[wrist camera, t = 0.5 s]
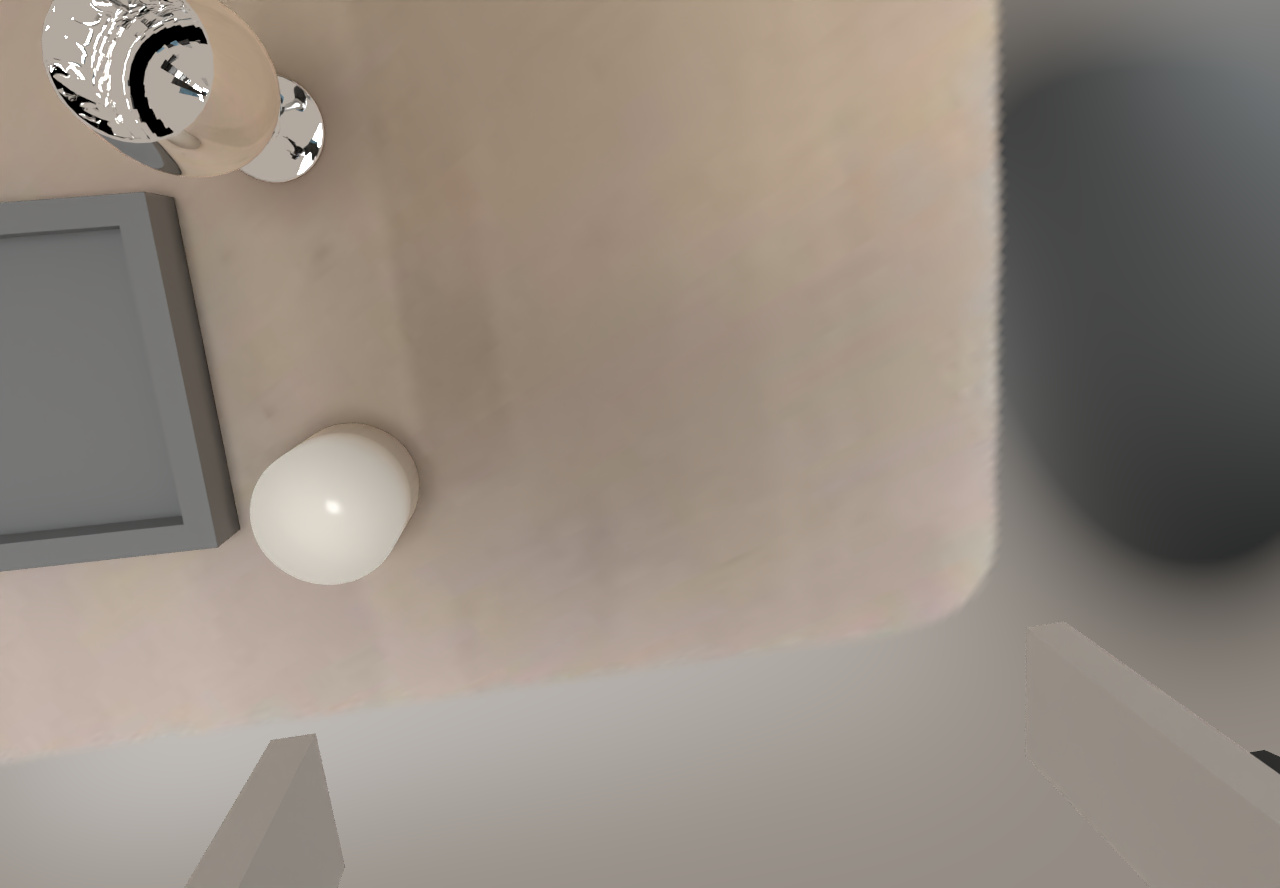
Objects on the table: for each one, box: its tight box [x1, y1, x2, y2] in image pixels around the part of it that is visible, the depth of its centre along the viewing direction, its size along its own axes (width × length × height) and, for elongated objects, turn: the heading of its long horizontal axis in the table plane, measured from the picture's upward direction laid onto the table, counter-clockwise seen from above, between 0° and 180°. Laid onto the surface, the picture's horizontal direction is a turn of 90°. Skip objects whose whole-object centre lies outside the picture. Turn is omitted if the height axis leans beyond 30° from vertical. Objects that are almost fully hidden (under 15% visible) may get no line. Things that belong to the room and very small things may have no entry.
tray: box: [0, 192, 240, 572], centre depth 35 cm, size 15×15×3 cm
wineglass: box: [41, 0, 325, 183], centre depth 29 cm, size 6×6×12 cm
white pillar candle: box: [250, 423, 420, 585], centre depth 36 cm, size 6×6×5 cm
